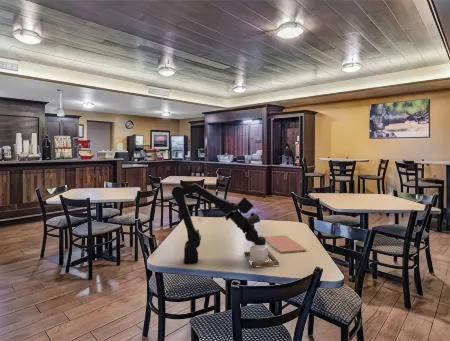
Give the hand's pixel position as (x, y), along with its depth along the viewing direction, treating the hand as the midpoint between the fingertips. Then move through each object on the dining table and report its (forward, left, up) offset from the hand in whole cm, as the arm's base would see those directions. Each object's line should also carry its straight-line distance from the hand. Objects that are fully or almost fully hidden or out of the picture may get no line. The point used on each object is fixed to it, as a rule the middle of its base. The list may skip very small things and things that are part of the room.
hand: (260, 241), depth 150 cm
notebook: (+21, +22, -11) cm, 32 cm away
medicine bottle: (-1, 0, -10) cm, 10 cm away
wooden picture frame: (0, 0, -10) cm, 10 cm away
